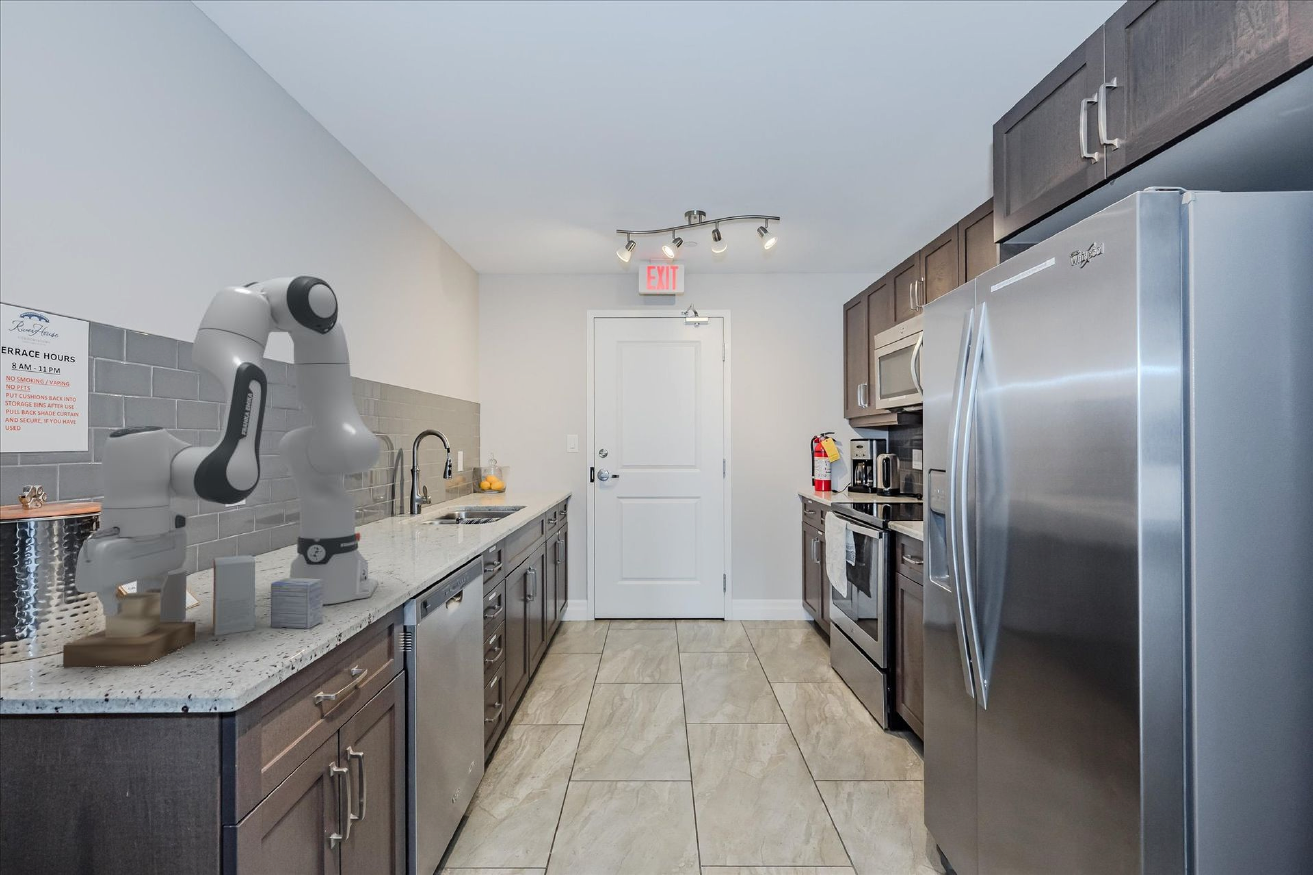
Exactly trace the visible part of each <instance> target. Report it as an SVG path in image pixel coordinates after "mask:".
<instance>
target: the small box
mask: <svg viewBox="0 0 1313 875" xmlns="http://www.w3.org/2000/svg"><path fill="white" fill-rule="evenodd" d="M212 582H213V589H212V590H213V592H212V593H213V594H212V596H213V597H212V598H213V599H212V600H213V601H212V625H213V634H214V636H215V637H217V636H223V635H228V634H236V632H237V633H242V632H249V630H250V631H255V629H256V628H255V627H256V624H255V620H256V619H255V618H256V615H255V614H256V613H255V611H256V609H255V607H256V605H255V604H256V603H255V602H256V560H255V558H254V557H253V555H252V554H251V555H250V554H247V555H235V556H223V557H215V558H213V581H212ZM222 634H223V635H222Z"/></svg>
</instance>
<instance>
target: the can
mask: <svg viewBox="0 0 1313 875" xmlns="http://www.w3.org/2000/svg"><path fill="white" fill-rule="evenodd" d="M187 571H188V570H187V568H185V567H184V566H182V567H180V568H177V569H174V570H171V571H168V579H167V581H166V583H165V586H164V588H163V597H162V598H161V613H160V622H185V620H186V619H187V574H188V573H187ZM151 582H152V579H150V577H148V578H145V579H141V580H138V581H136V590H135V591H136V592H135V593H146V590H149V589H150V585H151Z"/></svg>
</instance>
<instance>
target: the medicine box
mask: <svg viewBox="0 0 1313 875" xmlns="http://www.w3.org/2000/svg"><path fill="white" fill-rule="evenodd" d="M323 605H324V604H323V580H322V579H306V578H290V577H285V578H282V579H278V580H276V581H274V582H272V583H270V628H282V627H287V629H289V628H290V629H311V628H313V627H315V625H316V626H318V625H319V624H318V623H320V624H321V623H323V613H324V611H323ZM317 624H318V625H317ZM312 626H313V627H312ZM310 627H311V628H310Z"/></svg>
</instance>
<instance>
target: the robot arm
mask: <svg viewBox="0 0 1313 875" xmlns="http://www.w3.org/2000/svg"><path fill="white" fill-rule="evenodd" d="M338 312H339V304H338V299H337V296H336V294H335V292H334V290H333V288H332V286H331V285H330V284H329V283H328V282H327V281H325V280H324V279H322V278H319V277H315V276H308V275H300V276H299V275H298V276H284V277H283V276H282V277H276V278H272V279H267V280H263V281H254V282H250V283H247V284H245V285H243V286H239V285H231V286H229V285H228V286H224V287H223V288H221V289H220V290H219V291H218V292H217V293H216V294H215V295H214V297H213V299H212V301H211V302H210V303H209V305H208V307H207V309H206V310H205V312H204V315H203V317H202V319H201V322H200V324H199V327H198V330H197V332H196V335H195V339H194V340H193V345H192V347H191V348H192V349H191V363H192V366H193V367H194V369H195V370H196V372H197V373H198V374H199V375H200V376H201V377H202V378H203V379H204V380H206V381H208V382H209V383H211V384H212V385H215V386H217V387H218V388H220V389H221V390H222V392H224V397H225V409H224V414H223V419H222V427H221V432H220V437H219V440H218V441H217V442H216V443H215V444H214V445H213V446H199V445H198V446H196V445H193V444H192V443H188V442H185V441H183V440H181V439H179V438H177V437H175V436H174V435H173V434H171V433H169V432H168V431H167V429H165V428H164V427H161V426H156V425H154V426H153V425H152V426H151V425H146V426H135V427H134V426H133V427H127V428H126V427H125V428H121V429H118V430H115V431H113V432H111V433H110V434H109V435H108V437H107V438H106V441H105V444H104V445H103V446H104V447H103V452H102V457H101V458H102V459H101V474H100V476H101V478H100V479H101V480H100V481H101V485H102V486H103V494H104V495H103V498H102V501H101V505H100V528H99V530H95V531H92V532H90V534H89V536H87V538H86V539H85V540H84V541H83V543H82V546H81V547H80V550H79V552H78V556H77V560H76V561H77V562H76V567H75V576H74V587H75V588H76V590H77V591H78V592H79V593H96V597H97V599H99V602H100V603H101V605H102V608H103V609H102V614H103V616H105V617H106V616H114V615H116V614H119V613H121V612H122V602H118V600H117V598H116V597H117V594H118V593H119V587H122V586H124V585H128V584H131V583H134V582H135V583H136V582H137V581H138V580H141V579H145V578H148V577H150V579H152V582H151V585H150V589H149V590H146V593H161V598H162V597H163V588H164V586H165V583H166V581H167V579H168V571H171V570H174V569H177V568H180V567H182V566H183V565H184V563H185V561H186V558H187V550H188V548H187V546H188V540H187V539H188V536H187V532H186V530H185V528H188V525H189V517H188V515H186V514H181V513H179V512H176V511H174V510H171V509H170V507H171V502H170V501H171V499H177V500H189V501H201V502H202V501H204V502H206V501H207V502H211V503H214V504H215V503H217V504H220V505H234V504H235V505H236V504H237V503H238V504H239V503H240V502H242V501H244V500H246V499H247V498H248V497H250V496H251V495H252V493H253V492H254V491H255V489H256V488H257V486H258V485H259V482H260V478H261V460H260V448H261V447H260V446H261V440H262V432H263V425H264V419H265V418H264V417H265V412H266V406H267V405H266V404H267V397H268V396H267V395H268V380H267V376H266V373H265V372H264V370H263V359H264V354H265V350H266V348H267V344H268V340H269V337H270V333H288V335H289V336H290V338H291V341H292V343H293V365H294V366H293V367H294V379H295V390H296V398H297V401H298V403H299V404H300V405H301V406H303V407H304V408H305V410H306V411H307V413H308V415H309V416H310V419H311V421H312V423H313V425H311V426H310V425H308V426H302V427H299V428H296V429H292V430H291V431H288V432H287V433H286V434H284V435H283V437H282V438H281V440H280V442H279V445H278V451H277V452H278V457H279V459H280V461H281V462H282V464H284V465H285V467H286V468H287V469H288V470H289V472H290V475H291V477H292V479H293V482H294V485H295V489H296V491H297V496H298V502H299V536H298V537H297V542H296V547H297V548H296V553H297V556H296V558H295V559H293V560H292V561H291V563H290V569H289V578H306V579H322V580H323V605H329V604H332V605H333V604H337V603H344V602H349V601H353V600H358V599H366V598H371V596H372V595H373V593H374V591H375V590H376V588H377V586H378V585H379V580H378V579H375V578H369V564H368V563H369V562H368V560H366V558H365V557H364V556H363V555H362V554H361V553H360V552H359V550H358V549H359V544H358V543H359V542H360V541H361V537H362V536H361V533H360V532H356V529H355V528H356V502H355V499H354V497H353V496H352V494H351V493H349V492H348V490H347V489H346V487H345V485H344V481H343V478H342V476H351V475H356V474H361V473H364V472H368V471H369V470H372V469H373V468H374V466H376V465H377V463H378V461H379V459H380V455H381V446H380V442H379V439H378V437H377V436H376V435H375V434H374V433H373V432H372V431H370V430H369V428H368V427H367V426H366V425H365V423H364V421H363V419H362V417H361V415H360V413H359V411H358V408H357V407H356V402H355V400H354V399H355V398H354V395H353V386H352V384H353V383H352V377H351V376H352V374H351V365H350V363H351V362H350V355H349V348H348V342H347V340H346V335H345V331H344V328H343V326H342V324H341V323H340V321H339V320H338V316H339V315H338ZM183 567H184V566H183Z"/></svg>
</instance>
